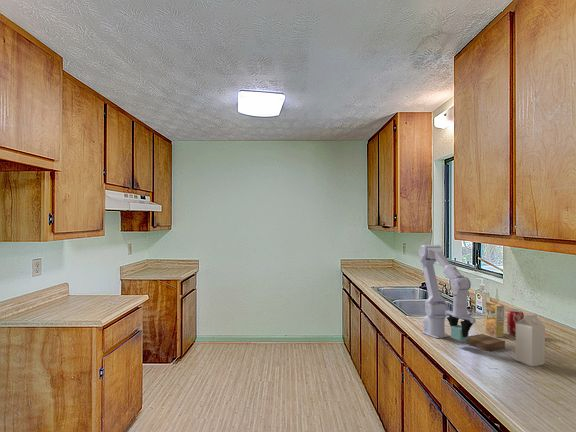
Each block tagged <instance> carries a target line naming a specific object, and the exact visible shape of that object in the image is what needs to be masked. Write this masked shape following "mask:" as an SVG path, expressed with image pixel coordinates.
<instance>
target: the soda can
mask: <svg viewBox="0 0 576 432" xmlns="http://www.w3.org/2000/svg"><path fill="white" fill-rule="evenodd" d="M506 315H507V317H506V318H507V319H506V320H507V321H506V324H507V325H506V327H507V328H506V329H507V333H508V334H509V335H511V336H514V335H515V337H516V323H517V322H519V321H520V320H522V319H523V318H524V312H523V310H522V309H517V308H509V309H508V311H507V314H506Z"/></svg>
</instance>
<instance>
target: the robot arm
mask: <svg viewBox="0 0 576 432" xmlns="http://www.w3.org/2000/svg"><path fill="white" fill-rule="evenodd" d="M417 252H418V256H419V261H420V263H421V267H422V271H423V272H422V273H423V277H424V281H425V285H426V290H427V295H428V298H427V299H426V300H425V301H424V305H425V306H424V311H425V312H424V313H425V314H426V315H425V316H424V318H423V331H422V332H421V333H423V334H424V335H427V336H429V337H432V338H435V339H442V338H447V337H449V334H446V333H445V331H446V330H445V325H446V321H445V319H447V321H448V323H449V326H450V327H451V326H456V325H459V320H460V325H461V326H462V335H463V337H467V336H469V332H470V330H471V327H472V326H473V325H474V324H476V321H477V318H476V317H473V316H471V315H469V314H468V291H469V290H470V289H471V286H472V284H471V283H472V282H471V280H470V279H469V277H467V276H464V275H462V273H461V272H460V270H458V268H457V266H455V265H453V264H451V263H450V262H449V261H448V259H447V258H446V256H445V254H444V249H443V247H442V246H441V245H440V244H421V245H420V247H419V249H418V251H417ZM435 263H438V264H439V265H440V266H441V267H442V269H443V274H444V275H445V276H446V278H447V279H448V281H449V282H450V288H451V292H452V294H453V295H452V296H453V297H452V300H453V301H452V302H453V303H452V310H450V309H449V306H448V304H447V300H446V299H445V298H444V297H442V296H441V293H440V289H439V283H438V281H437V275H436V272H435V266H434V264H435ZM447 316H448V317H447Z"/></svg>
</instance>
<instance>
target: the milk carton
mask: <svg viewBox="0 0 576 432" xmlns="http://www.w3.org/2000/svg"><path fill="white" fill-rule="evenodd" d="M545 344H546V326H545V325H544V323H543V322H542V321H541V320H540V319H539V318H538V315H537V313H536V314H535V313H534V314H525V315H524V318H523V319H522V320H520V321H519V322H517V323H516V336H515V347H514V348H515V349H514V350H515V352H514V353H515V360H514V361H517V362H520V363H522V364H524V365H527V366H530V367H537V366H543V365H545V361H546V360H545V359H546V357H545V356H546V355H545V353H546V352H545V351H546V345H545Z"/></svg>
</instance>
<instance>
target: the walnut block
mask: <svg viewBox="0 0 576 432" xmlns="http://www.w3.org/2000/svg"><path fill="white" fill-rule="evenodd" d="M465 344H466V345H469V346H472V347H475V348H477V349H479V350H483V351H485V352H492V351H497V350H498V351H499V350H501V349H505V348H506V341H505V340H503V339H500V338H498V337H495V336H490V335H487V334H484V333H481V334H480V333H479V334H474V335H468V340H465Z"/></svg>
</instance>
